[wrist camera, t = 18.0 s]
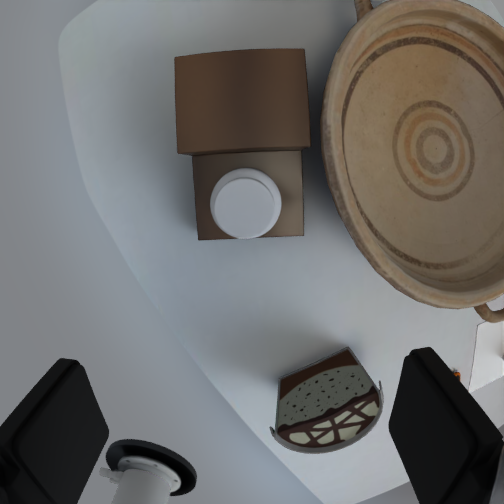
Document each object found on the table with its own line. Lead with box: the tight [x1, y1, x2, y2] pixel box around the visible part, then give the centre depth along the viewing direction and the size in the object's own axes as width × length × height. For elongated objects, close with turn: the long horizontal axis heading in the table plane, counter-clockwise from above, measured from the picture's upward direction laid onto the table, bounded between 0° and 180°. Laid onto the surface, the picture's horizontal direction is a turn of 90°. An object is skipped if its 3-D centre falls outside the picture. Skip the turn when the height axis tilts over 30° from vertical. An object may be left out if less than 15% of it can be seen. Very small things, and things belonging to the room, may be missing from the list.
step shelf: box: [174, 49, 311, 240], centre depth 27 cm, size 10×16×8 cm, turn 3°
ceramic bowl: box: [320, 0, 504, 323], centre depth 25 cm, size 37×29×10 cm
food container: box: [270, 347, 383, 454], centre depth 32 cm, size 12×6×10 cm, turn 118°
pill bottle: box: [210, 168, 281, 239], centre depth 25 cm, size 5×5×9 cm
